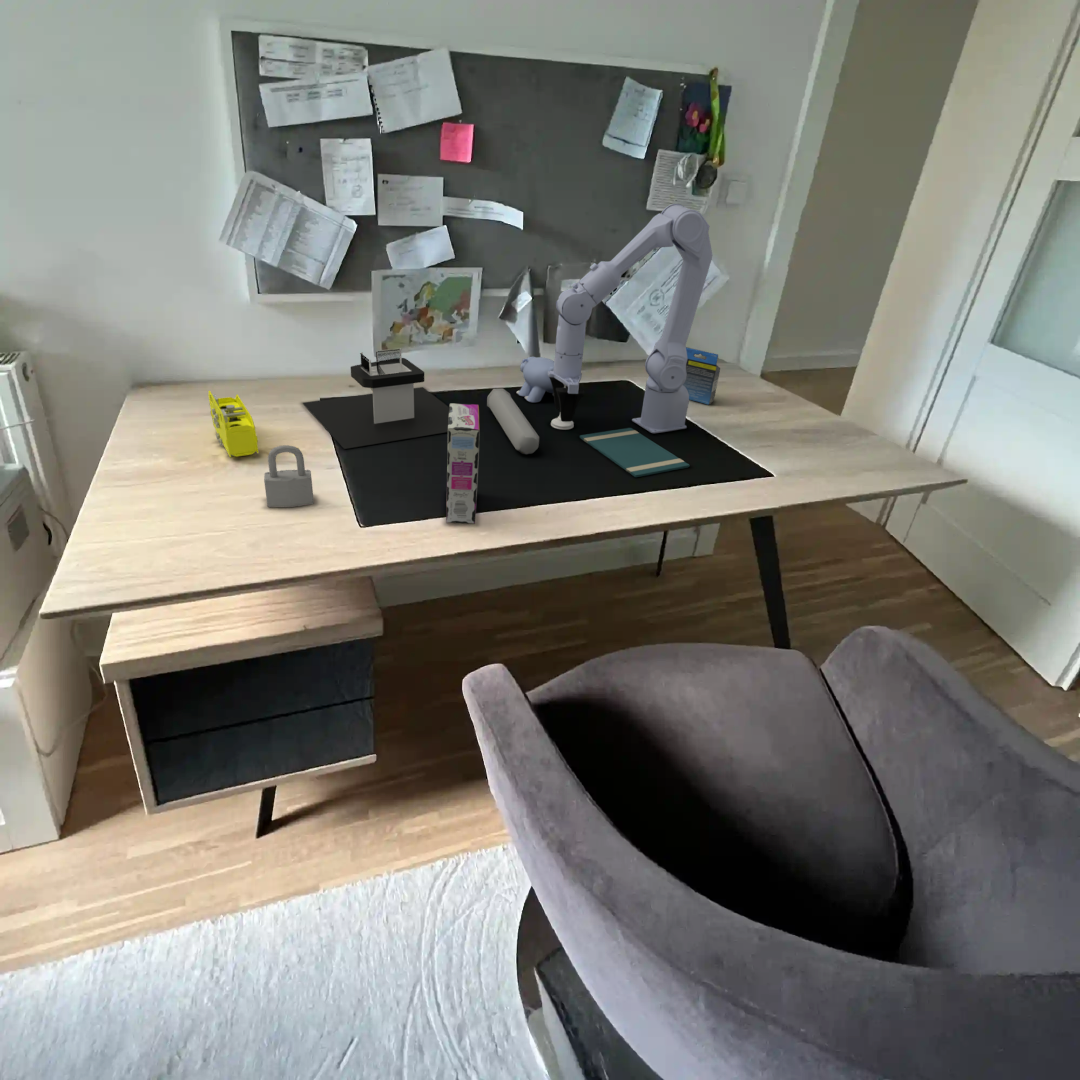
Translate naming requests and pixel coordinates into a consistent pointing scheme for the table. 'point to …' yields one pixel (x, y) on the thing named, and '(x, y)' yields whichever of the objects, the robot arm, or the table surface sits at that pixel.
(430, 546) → the table surface
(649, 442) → the towel
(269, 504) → the padlock
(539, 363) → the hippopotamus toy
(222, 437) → the yellow toy chassis
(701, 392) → the blue retail box
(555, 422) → the chess piece
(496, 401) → the tube
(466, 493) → the candy bar box
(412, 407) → the black-topped pedestal
